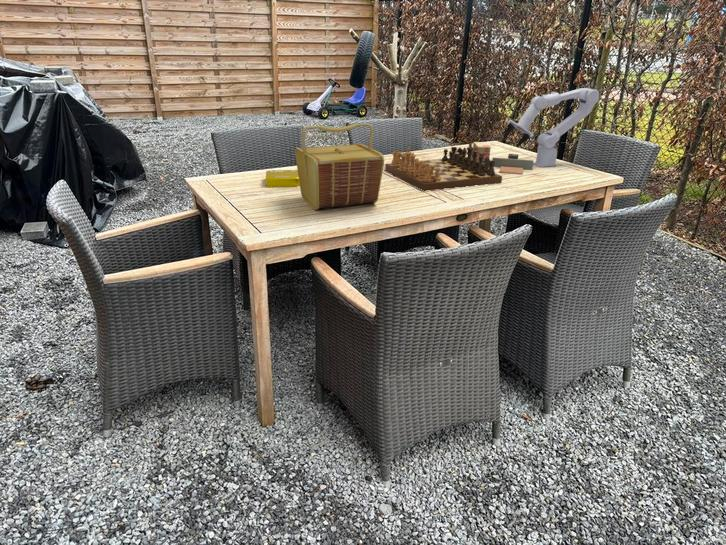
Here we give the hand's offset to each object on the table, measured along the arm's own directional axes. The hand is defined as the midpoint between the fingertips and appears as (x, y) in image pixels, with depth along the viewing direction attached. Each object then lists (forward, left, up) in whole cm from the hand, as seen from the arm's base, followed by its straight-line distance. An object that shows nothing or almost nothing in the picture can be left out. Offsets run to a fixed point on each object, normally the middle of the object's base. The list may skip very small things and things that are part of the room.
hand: (510, 142), depth 262 cm
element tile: (+118, +7, -12) cm, 119 cm away
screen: (+1, +6, -12) cm, 13 cm away
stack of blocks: (+17, -1, -12) cm, 21 cm away
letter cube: (-3, -1, -12) cm, 12 cm away
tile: (+5, +12, -12) cm, 17 cm away
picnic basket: (+101, +41, -12) cm, 110 cm away
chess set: (+44, +13, -12) cm, 47 cm away
